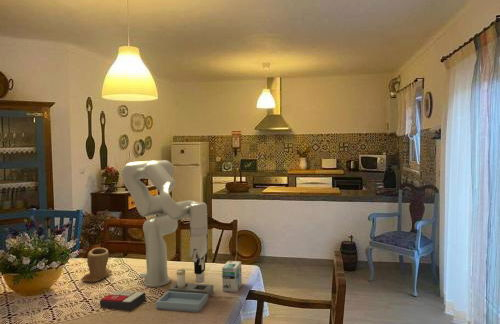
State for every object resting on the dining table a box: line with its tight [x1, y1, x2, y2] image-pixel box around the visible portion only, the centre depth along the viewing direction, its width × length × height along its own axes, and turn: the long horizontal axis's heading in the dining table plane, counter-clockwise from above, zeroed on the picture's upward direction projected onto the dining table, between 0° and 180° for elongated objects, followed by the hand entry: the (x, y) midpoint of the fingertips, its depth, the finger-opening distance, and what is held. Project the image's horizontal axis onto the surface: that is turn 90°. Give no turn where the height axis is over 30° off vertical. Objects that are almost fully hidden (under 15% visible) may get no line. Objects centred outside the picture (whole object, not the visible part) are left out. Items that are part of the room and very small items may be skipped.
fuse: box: [176, 268, 186, 288], centre depth 174 cm, size 4×4×10 cm
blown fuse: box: [195, 258, 205, 284], centre depth 172 cm, size 4×4×10 cm
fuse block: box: [167, 281, 214, 298], centre depth 173 cm, size 18×8×3 cm, turn 77°
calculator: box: [99, 289, 147, 312], centre depth 164 cm, size 11×4×15 cm
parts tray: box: [155, 290, 209, 313], centre depth 161 cm, size 18×11×3 cm, turn 77°
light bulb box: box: [221, 260, 243, 293], centre depth 179 cm, size 11×7×11 cm, turn 168°
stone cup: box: [81, 247, 113, 283], centre depth 195 cm, size 15×12×15 cm
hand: (199, 271), depth 172 cm, fingers closed on blown fuse, 3 cm apart
